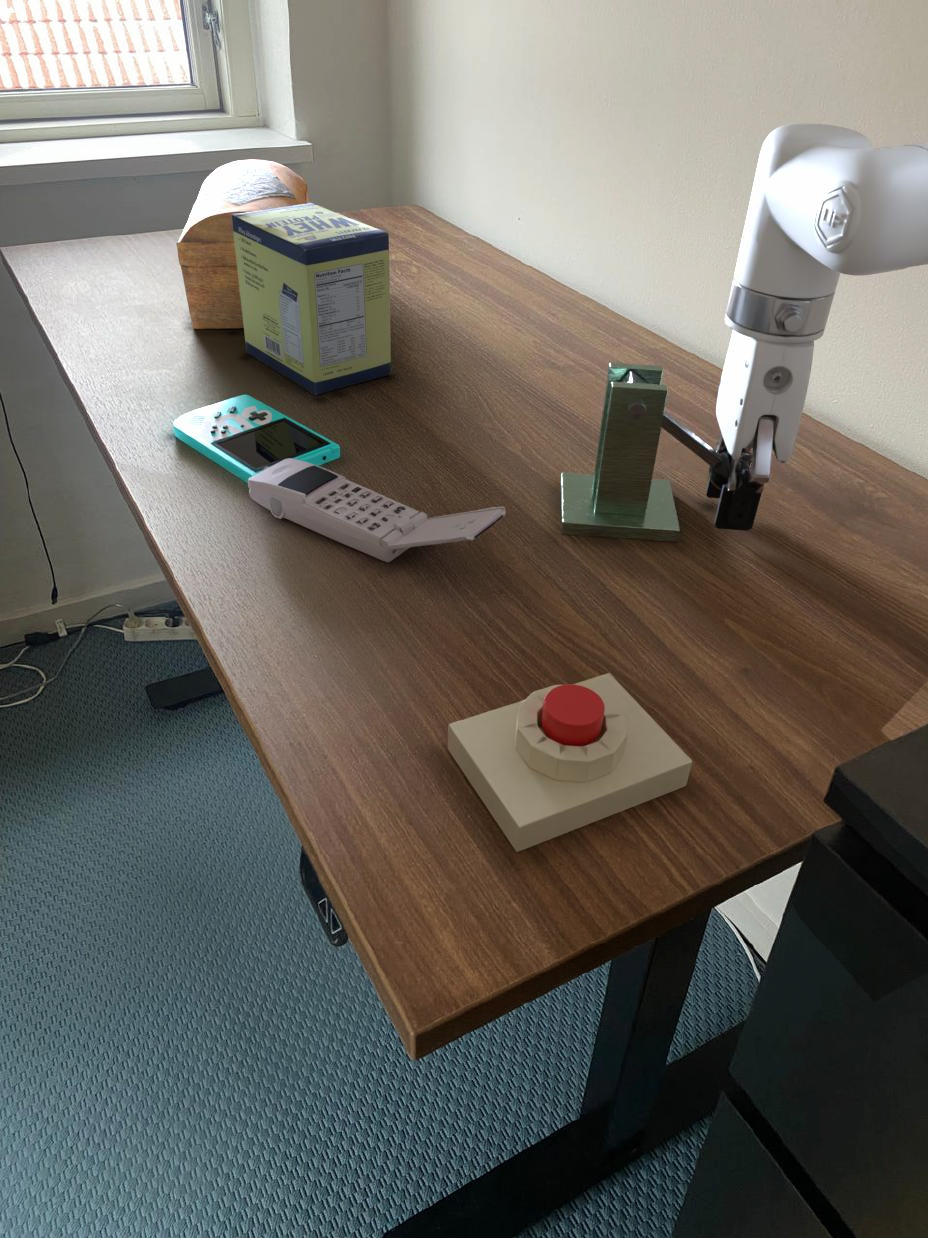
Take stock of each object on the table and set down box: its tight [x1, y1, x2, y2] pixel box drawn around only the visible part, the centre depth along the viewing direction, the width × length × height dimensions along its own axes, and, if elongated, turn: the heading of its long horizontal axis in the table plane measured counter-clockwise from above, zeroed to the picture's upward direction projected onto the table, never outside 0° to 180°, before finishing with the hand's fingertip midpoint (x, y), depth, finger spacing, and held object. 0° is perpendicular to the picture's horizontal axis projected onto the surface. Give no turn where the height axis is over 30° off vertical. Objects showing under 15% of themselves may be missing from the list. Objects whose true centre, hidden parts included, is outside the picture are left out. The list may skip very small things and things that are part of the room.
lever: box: [621, 371, 751, 490], centre depth 78 cm, size 14×3×3 cm
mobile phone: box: [247, 458, 506, 563], centre depth 76 cm, size 6×6×25 cm
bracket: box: [559, 362, 681, 543], centre depth 79 cm, size 10×9×13 cm
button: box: [541, 684, 605, 746], centre depth 55 cm, size 4×4×2 cm
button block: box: [447, 672, 693, 853], centre depth 57 cm, size 12×9×4 cm
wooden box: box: [176, 159, 310, 330], centre depth 123 cm, size 30×16×14 cm, turn 6°
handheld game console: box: [172, 394, 341, 484], centre depth 91 cm, size 10×16×1 cm, turn 45°
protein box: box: [231, 202, 392, 396], centre depth 103 cm, size 10×16×16 cm
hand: (728, 510), depth 82 cm, fingers open, 4 cm apart
